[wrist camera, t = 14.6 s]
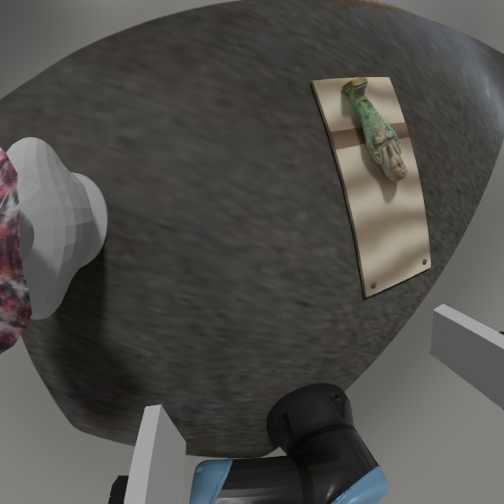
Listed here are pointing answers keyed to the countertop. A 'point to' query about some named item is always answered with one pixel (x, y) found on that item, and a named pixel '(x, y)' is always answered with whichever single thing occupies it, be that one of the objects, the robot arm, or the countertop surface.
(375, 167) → the board
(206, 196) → the countertop surface
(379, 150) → the figurine
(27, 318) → the bust with hat
